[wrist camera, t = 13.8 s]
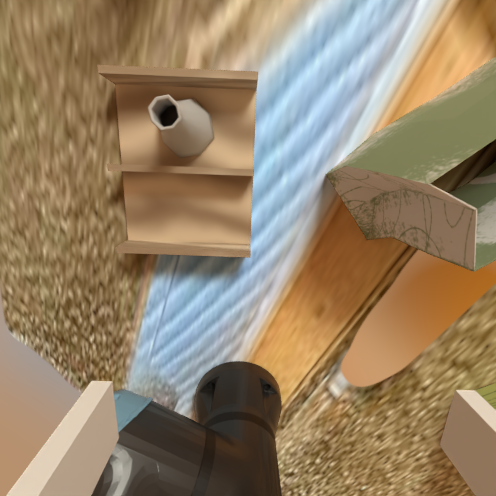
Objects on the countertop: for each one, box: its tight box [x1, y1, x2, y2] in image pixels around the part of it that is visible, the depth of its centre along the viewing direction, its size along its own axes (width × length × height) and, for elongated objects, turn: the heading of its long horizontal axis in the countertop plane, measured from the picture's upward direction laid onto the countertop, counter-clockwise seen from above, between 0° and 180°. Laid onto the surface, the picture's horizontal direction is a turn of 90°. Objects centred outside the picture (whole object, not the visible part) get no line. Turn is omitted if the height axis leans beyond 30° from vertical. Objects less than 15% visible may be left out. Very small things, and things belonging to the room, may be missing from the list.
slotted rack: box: [98, 65, 258, 257], centre depth 36 cm, size 22×18×5 cm
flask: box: [148, 94, 214, 158], centre depth 31 cm, size 7×7×10 cm
